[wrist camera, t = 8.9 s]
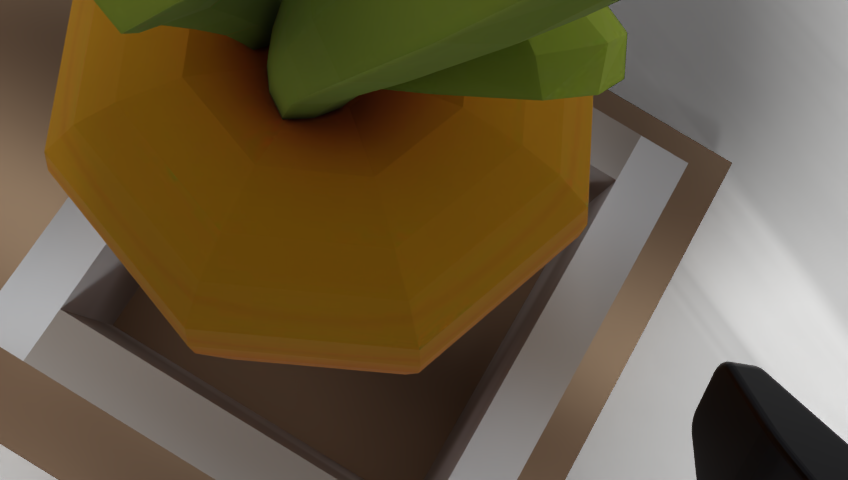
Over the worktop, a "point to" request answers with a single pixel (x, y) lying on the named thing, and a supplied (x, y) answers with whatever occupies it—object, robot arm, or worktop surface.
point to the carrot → (331, 162)
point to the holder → (306, 385)
